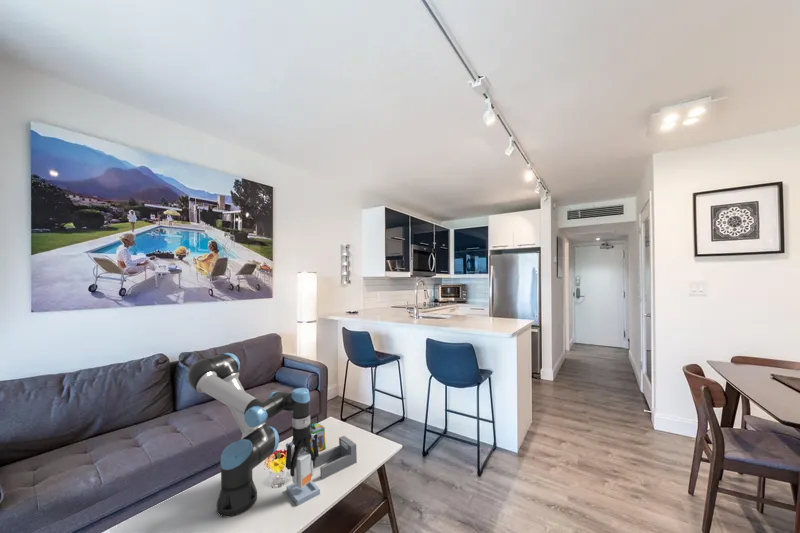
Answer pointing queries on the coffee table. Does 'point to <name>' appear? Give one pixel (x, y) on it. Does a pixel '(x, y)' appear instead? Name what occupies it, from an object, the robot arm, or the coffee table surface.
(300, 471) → the skincare box
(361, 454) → the coffee table surface
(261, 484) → the coffee table surface
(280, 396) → the robot arm
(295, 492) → the tray
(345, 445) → the dock
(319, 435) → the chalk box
